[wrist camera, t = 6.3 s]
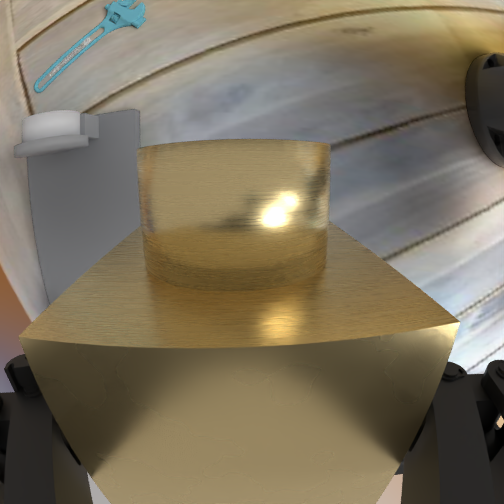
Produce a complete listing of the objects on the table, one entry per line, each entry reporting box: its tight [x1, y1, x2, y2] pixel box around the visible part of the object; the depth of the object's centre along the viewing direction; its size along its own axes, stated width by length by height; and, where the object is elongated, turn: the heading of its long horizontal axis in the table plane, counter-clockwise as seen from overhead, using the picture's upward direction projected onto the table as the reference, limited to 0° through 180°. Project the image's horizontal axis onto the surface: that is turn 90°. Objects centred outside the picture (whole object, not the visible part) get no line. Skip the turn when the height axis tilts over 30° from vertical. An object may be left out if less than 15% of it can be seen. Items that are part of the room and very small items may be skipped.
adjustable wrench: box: [34, 0, 146, 93], centre depth 22 cm, size 14×1×5 cm
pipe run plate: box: [14, 109, 141, 305], centre depth 23 cm, size 12×22×9 cm, turn 1°
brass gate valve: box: [19, 139, 460, 504], centre depth 10 cm, size 8×13×9 cm, turn 1°
